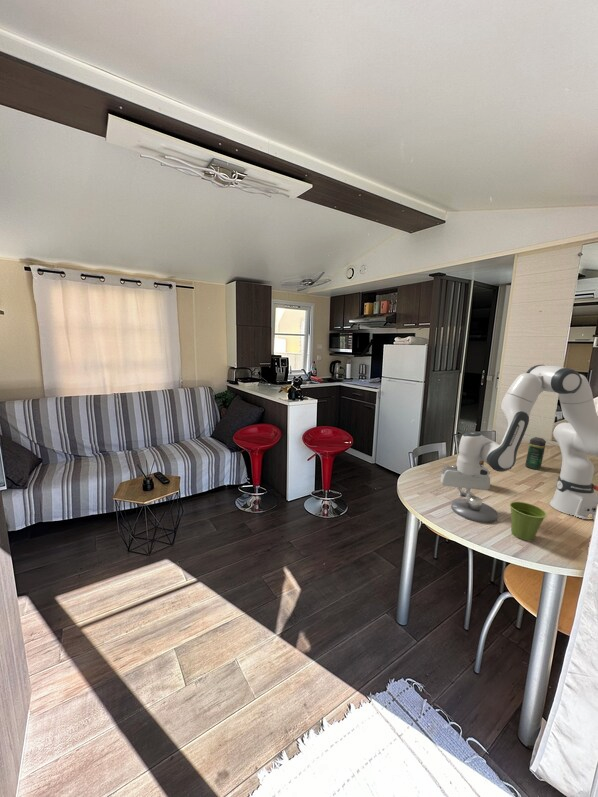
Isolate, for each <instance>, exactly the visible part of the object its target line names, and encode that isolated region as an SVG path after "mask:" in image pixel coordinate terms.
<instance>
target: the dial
mask: <svg viewBox="0 0 598 797" xmlns="http://www.w3.org/2000/svg"><path fill="white" fill-rule="evenodd" d="M466 499H467V501H468V507H469V508H470V509H472V510H476V511H479V510H481V504H482V503H483V499H481V497H479V496H476V495H475V494H474V493H473V492H472V491H470V492H469V493H468V494H467V497H466Z"/></svg>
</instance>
